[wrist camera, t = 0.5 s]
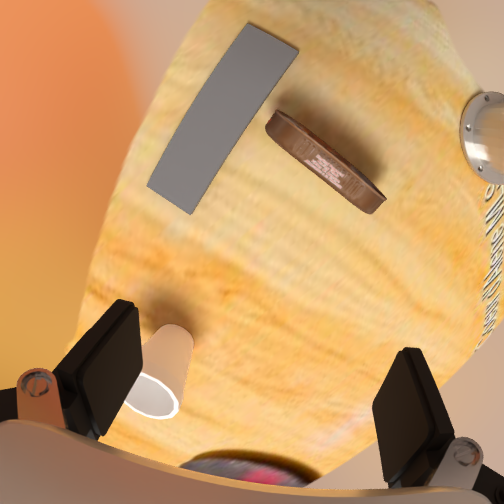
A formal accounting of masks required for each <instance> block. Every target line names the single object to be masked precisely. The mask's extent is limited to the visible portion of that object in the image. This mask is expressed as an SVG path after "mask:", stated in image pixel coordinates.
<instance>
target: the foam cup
mask: <svg viewBox="0 0 504 504" xmlns="http://www.w3.org/2000/svg"><path fill="white" fill-rule="evenodd" d="M193 348H194V340H193V338H192V336H191V334H190V333H189V332H188V331H187V330H185V329H184V328H182V327H180V326H178V325H174V324H166V325H164V326H162V327H161V328H159V329H158V330H157V331H156V332H155V333H154V335H153V336H152V337H151V338H150V339H149V340H148V341H147V342H146V343H145V344H144V345H143V346H142V356H143V368H142V371H141V373H140V375H139V376H138V378H137V380H136V381H135V383H134V385H133V387H132V388H131V390H130V392H129V394H128V395H127V397H126V399H125V401H124V403H125V404H126V405H128V406H129V407H130V408H131V409H133V410H134V411H136V412H138V413H140V414H142V415H144V416H146V417H150V418H156V419H167V418H172V417H173V416H174V415H175V414H176V413H177V412H178V411H179V409H180V406H181V404H182V401H183V393H184V387H185V383H186V379H187V374H188V370H189V366H190V361H191V357H192V353H193Z"/></svg>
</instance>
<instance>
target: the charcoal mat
mask: <svg viewBox="0 0 504 504" xmlns="http://www.w3.org/2000/svg"><path fill="white" fill-rule="evenodd" d="M298 54H299V51H297V50H295V49H294V48H292V47H290V46H288V45H287V44H285V43H283V42H282V41H280V40H278V39H276V38H274V37H273V36H271V35H269V34H267V33H265V32H263V31H262V30H260V29H258V28H256V27H254V26H252V25H250V24H248V23H247V25H246V26H245V27H244V28H243V30H242V31H241V33H240V34H239V35H238V37H237V38H236V39H235V41H234V42H233V43H232V45H231V46H230V48H229V49H228V51H227V52H226V53H225V55H224V56H223V58H222V59H221V61H220V62H219V63H218V65H217V66H216V68H215V69H214V71H213V72H212V74H211V75H210V77H209V78H208V80H207V81H206V83H205V85H204V86H203V88H202V89H201V91H200V92H199V94H198V95H197V97H196V99H195V100H194V102H193V104H192V105H191V107H190V108H189V110H188V112H187V113H186V115H185V117H184V118H183V120H182V122H181V123H180V125H179V127H178V128H177V130H176V132H175V134H174V135H173V137H172V139H171V141H170V142H169V144H168V146H167V148H166V150H165V151H164V153H163V155H162V157H161V159H160V161H159V162H158V164H157V166H156V168H155V170H154V172H153V174H152V176H151V178H150V180H149V182H148V183H147V185H146V186H147V187H149V188H150V189H152V190H153V191H155V192H156V193H158V194H159V195H161V196H162V197H164V198H165V199H167V200H168V201H170V202H171V203H173V204H174V205H176V206H177V207H179V208H180V209H182V210H183V211H185V212H186V213H188V214H189V215H191V214H192V213H193V212H194V210H195V208H196V207H197V205H198V203H199V202H200V200H201V198H202V197H203V195H204V193H205V192H206V190H207V189H208V187H209V185H210V184H211V182H212V180H213V179H214V177H215V176H216V174H217V172H218V171H219V169H220V168H221V166H222V165H223V163H224V161H225V160H226V158H227V157H228V155H229V154H230V152H231V150H232V149H233V147H234V146H235V144H236V143H237V141H238V140H239V138H240V137H241V135H242V134H243V132H244V131H245V129H246V128H247V126H248V125H249V123H250V122H251V120H252V119H253V117H254V116H255V114H256V113H257V111H258V110H259V108H260V107H261V106H262V104H263V103H264V101H265V100H266V98H267V97H268V95H269V94H270V93H271V91H272V90H273V88H274V87H275V86H276V84H277V83H278V81H279V80H280V79H281V77H282V76H283V74H284V73H285V72H286V70H287V69H288V67H289V66H290V65H291V63H292V62H293V61H294V59H295V58H296V57H297V55H298Z"/></svg>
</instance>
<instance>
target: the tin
mask: <svg viewBox="0 0 504 504" xmlns="http://www.w3.org/2000/svg"><path fill="white" fill-rule="evenodd" d="M265 130H266V132H267V134H268V135H269V136H270V137H271V138H272V139H273V140H274V141H275V142H276V143H277V144H278V145H279V146H280V147H282V148H283V149H284V150H285V151H287V152H288V153H289V154H290V155H292V156H293V157H294V158H295V159H297V160H298V161H299V162H301V163H302V164H303V165H304V166H306V167H307V168H308V169H309V170H311V171H312V172H313V173H315V174H316V175H317V176H318V177H320V178H321V179H322V180H323V181H325V182H326V183H327V184H328V185H330V186H331V187H332V188H333V189H335V190H336V191H337V192H338V193H340V194H341V195H342V196H343V197H345V198H346V199H347V200H348V201H349V202H351V203H352V204H353V205H355V206H356V207H357V208H359V209H360V210H362V211H363V212H365V213H367V214H372V213H374V212H375V211H376V210H377V208H378V207H379V206H380V205H381V204H382V203H383V202H384V201H385V200H387V199H386V197H385V196H384V195H383V194H382V193H381V192H380V191H379V190H378V189H377V188H376V186H375V185H374V184H373V183H372V182H371V181H370V180H369V179H368V178H367V177H365V176H364V175H363V174H362V173H361V172H360V171H358V170H357V169H356V168H355V167H354V166H353V165H352V164H350V163H349V162H348V161H347V160H346V159H345V158H343V157H342V156H341V155H340V154H338V153H337V152H336V151H335V150H334V149H332V148H331V147H330V146H329V145H327V144H326V143H325V142H324V141H322V140H321V139H320V138H318V137H317V136H316V135H315V134H313V133H312V132H311V131H309V130H308V129H307V128H305V127H304V126H303V125H301V124H300V123H298V122H297V121H296V120H294V119H293V118H291V117H290V116H288V115H286V114H285V113H283V112H281V111H279V110H277V109H276V111H275V113H274V115H273V116H272V117H271V119H270V120H269V121H268V123H267V124H266V126H265Z"/></svg>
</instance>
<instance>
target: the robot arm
mask: <svg viewBox="0 0 504 504" xmlns="http://www.w3.org/2000/svg"><path fill="white" fill-rule="evenodd" d="M460 138H461V145H462V149H463V153H464V155H465V158H466V160H467V162H468V164H469V166H470V167H471V169H472V170H473V171H474V172H475V174H476V175H478V176H479V177H480V178H481V179H483V180H485V181H487V182H489V183H492V184H496V185H504V95H503V94H501V93H498V92H484V93H480V94H478V95H477V96H475V97H474V98H473V99H471V100H470V101H469V103H468V104H467V106H466V108H465V110H464V112H463V115H462V119H461V124H460ZM142 368H143V356H142V347H141V336H140V325H139V311H138V308H137V307H135V306H134V303H133V302H129V301H125V300H121V299H118V300H116V301H115V302H114V303H113V304H112V306H111V307H110V308H109V309H108V310H107V311H106V312H105V313H104V314H103V315H102V317H101V318H100V319H99V320H98V321H97V322H96V323H95V324H94V325H93V327H92V328H90V329H89V330H88V331H87V332H86V333H85V334H84V335H83V337H82V338H81V339H80V340H79V341H78V342H77V343H76V345H75V346H74V347H73V348H72V349H71V350H70V351H69V353H68V354H67V355H66V356H65V357H64V358H63V360H62V361H61V362H60V363H59V364H58V365H57V367H56V368H55V369H54V370H53V371H52V372H50V371H49V370H47V369H43V368H34V369H30V370H28V371H26V372H24V373H23V374H22V375H21V376H20V377H19V379H18V381H17V387H15V388H10V389H4V390H0V504H504V477H503V476H501V475H500V474H498V473H497V472H495V471H493V470H492V469H490V468H489V467H487V466H485V465H484V464H482V462H483V451H482V449H481V447H480V446H479V444H478V443H477V442H475V441H474V440H473V439H470V438H468V437H459V438H455V435H454V429H453V426H452V424H451V421H450V418H449V416H448V413H447V410H446V408H445V405H444V403H443V400H442V398H441V395H440V393H439V390H438V388H437V386H436V383H435V381H434V378H433V376H432V374H431V371H430V369H429V367H428V365H427V362H426V360H425V358H424V356H423V353H422V351H421V350H420V349H419V348H410V347H405V348H404V349H403V350H402V351H399V352H398V353H397V355H396V358H395V360H394V362H393V364H392V366H391V368H390V370H389V372H388V374H387V376H386V378H385V380H384V382H383V384H382V386H381V388H380V390H379V392H378V393H377V395H376V397H375V399H374V401H373V405H372V411H373V416H374V422H375V427H376V433H377V439H378V445H379V451H380V457H381V464H382V470H383V477H384V481H385V482H388V487H389V489H363V490H335V489H311V488H297V487H285V486H276V485H267V484H259V483H252V482H246V481H240V480H234V479H228V478H223V477H218V476H213V475H208V474H203V473H199V472H195V471H190V470H186V469H182V468H178V467H175V466H171V465H167V464H164V463H160V462H157V461H154V460H150V459H147V458H144V457H141V456H138V455H135V454H132V453H129V452H126V451H123V450H120V449H117V448H114V447H111V446H109V445H106V444H103V443H101V442H98V439H99V437H100V435H101V436H104V435H105V434H106V433H107V431H108V429H109V427H110V426H111V424H112V422H113V420H114V418H115V417H116V415H117V413H118V411H119V410H120V408H121V406H122V404H123V403H124V401H125V399H126V397H127V395H128V394H129V392H130V390H131V388H132V387H133V385H134V383H135V381H136V380H137V378H138V376H139V375H140V373H141V371H142Z"/></svg>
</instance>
